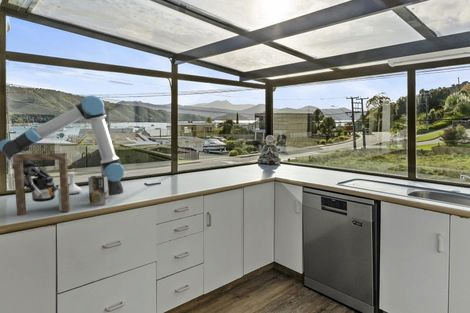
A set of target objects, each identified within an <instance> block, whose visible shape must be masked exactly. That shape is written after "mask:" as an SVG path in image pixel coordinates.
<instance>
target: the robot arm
mask: <svg viewBox="0 0 470 313" xmlns="http://www.w3.org/2000/svg"><path fill="white" fill-rule="evenodd" d="M106 117H107V114H106V110H105V103H104V101H103V99H102V98H100V97H99V96H97V95H92V94H91V95H87V96H86V97H84V98H83V99H82V101H81V102H79V103H78V104H76V105H74V107H73V108H72V109H70V110H67V111H66V112H64V113H61V114H59V115H58V116H56V117H54V118H52V119H50V120H48V121H46V122H44V123H42V124H40V125H38V126H36V127H35V128H28V129H27V130H26V131H24V132H23V133H20V135H18V136H17V137H15V138H14V139H11V138H5V139H3V140H1V141H0V152H1V153H2V154H3V155H4V156H5V157H6V159H7V160H8V161H10V163H11V164H12V165H13V155H14V154H25V153H24V152H23V151H25V150H26V149H28V148H29V147H31V146H32V145H35V144H36V143H38V142H40V141H42V140H44V139H46V138H47V137H49V136H51V135H52V134H55V133H56V132H58V131H60V130H62V129H64V128H66V127H68V126H70V125H72V124H75V123H76V122H78V121H80V120H86V121H88V122H89V123H90V126H91V129H92V133H93V136H94V138H95V141H96V145H97V147H98V151H99V154H100V158H101V160H100V163H99V164H100V169H101V170H100V173H101V175H100V176H108V190H109V196H110V195H111V196H113V195H117V194H121V193H123V192H124V188H123V187H124V186H123V185H122V182H121V179H122V178H123V176H124V175H125V167H124V166H123V165H122V162H121V159H120V157H119V156H118V155H116V154H117V153H116V151H115V148H114V145H113V141H112V138H111V134H110V132H109V129H108V126H107V121H106ZM23 171H24V185H25V189H29V190H30V191H31V192H32V191H33V192H34V193H35V194H36V195H37V196H39V195H40V194H41V191H40V190H39V189H38V188H37V187H36V186H35V185H34V184H33V182H32V177H34V178H37V177H52V176H51V175H50V174H49V173H48V172H46V171H45V170H43V168H41V166H38V167H37V168H36V167H35V166H34V163H33V162H32V160H23ZM56 191H58V186H56V184H55V183H54V192H55V193H56Z"/></svg>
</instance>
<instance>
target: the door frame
mask: <svg viewBox="0 0 470 313" xmlns="http://www.w3.org/2000/svg"><path fill="white" fill-rule="evenodd" d="M67 157H68V154H67V152H66V153H65V152H63V153H62V152H61V153H59V152H58V153H57V152H56V153H55V152H54V153H53V152H52V153H24V154H14V155H13V164H12V165H13V175H14V176H13V177H14V189H15V203H16V204H15V205H16V216H24V215H26V214H27V204H26V187H25V185H24V176H25V175H24V171H23V160H30V161H52V160H57V161H58V169H59V170H58V171H59V172H58V173H59V184H60V190H61V207H62V211H61V213H63V214H64V213H69V212H70V211H71V207H70V194H69V187H68V186H69V175H68V173H69V171H68V170H69V169H68V166H67Z"/></svg>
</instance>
